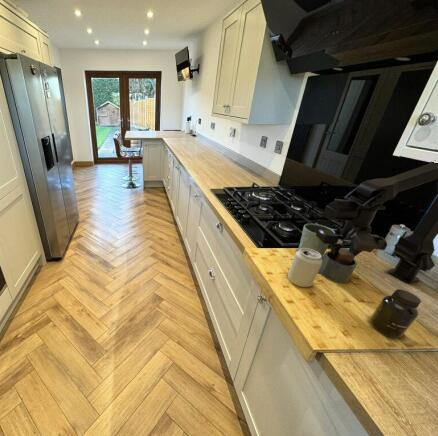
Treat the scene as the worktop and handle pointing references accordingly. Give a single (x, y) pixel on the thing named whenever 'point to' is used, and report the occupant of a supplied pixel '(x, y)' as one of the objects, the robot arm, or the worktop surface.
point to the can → (305, 267)
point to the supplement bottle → (395, 313)
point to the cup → (336, 269)
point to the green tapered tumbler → (313, 238)
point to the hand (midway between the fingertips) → (340, 259)
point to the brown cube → (343, 257)
